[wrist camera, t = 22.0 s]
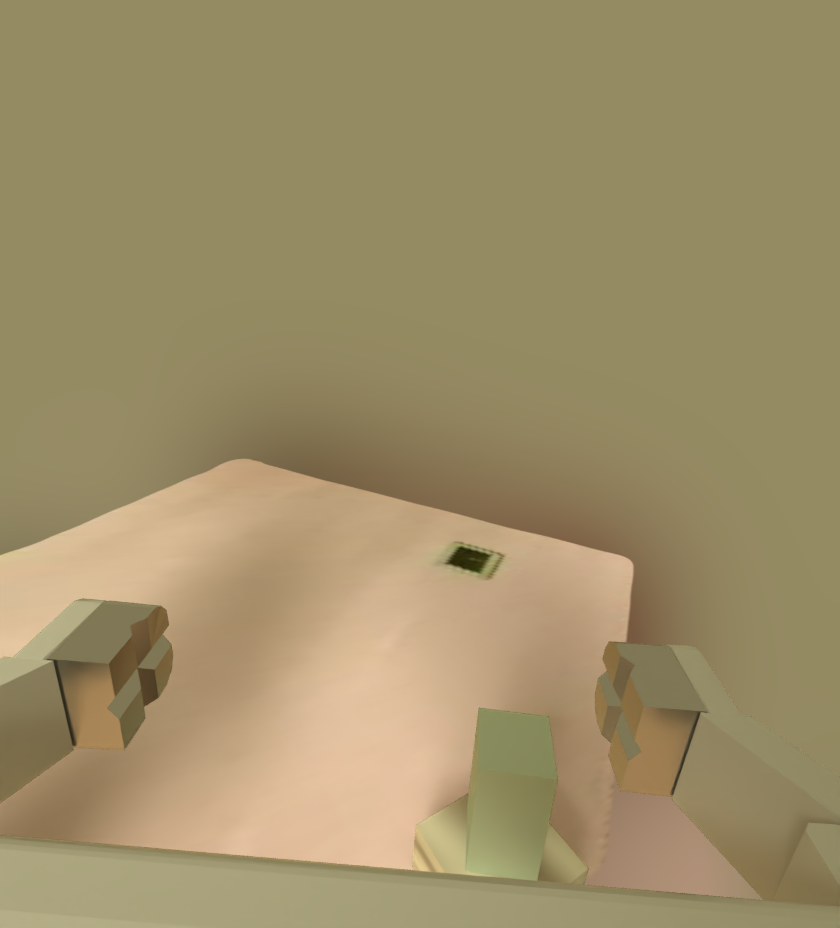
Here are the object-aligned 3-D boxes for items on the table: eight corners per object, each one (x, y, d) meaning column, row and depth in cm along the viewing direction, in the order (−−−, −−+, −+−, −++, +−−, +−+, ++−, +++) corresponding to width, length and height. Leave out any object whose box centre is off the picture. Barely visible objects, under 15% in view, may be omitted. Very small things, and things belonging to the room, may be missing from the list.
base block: (484, 992, 36) (493, 947, 34) (411, 868, 42) (415, 825, 41) (576, 912, 40) (588, 868, 39) (497, 812, 47) (504, 771, 45)
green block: (465, 871, 38) (478, 768, 34) (467, 804, 42) (478, 707, 39) (536, 882, 37) (557, 779, 34) (530, 813, 42) (548, 716, 38)
